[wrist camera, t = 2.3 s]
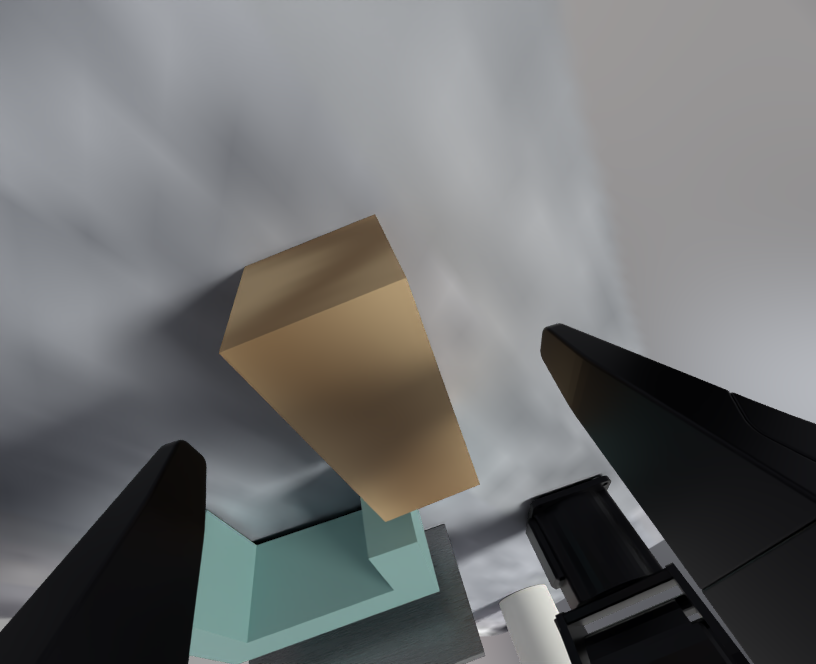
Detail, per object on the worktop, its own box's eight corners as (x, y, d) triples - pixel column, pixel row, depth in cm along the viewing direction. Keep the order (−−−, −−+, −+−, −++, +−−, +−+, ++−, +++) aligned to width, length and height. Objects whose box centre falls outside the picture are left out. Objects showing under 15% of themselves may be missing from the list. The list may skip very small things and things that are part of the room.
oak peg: (373, 211, 10) (405, 277, 7) (446, 405, 16) (479, 484, 13) (245, 263, 10) (218, 353, 7) (369, 436, 16) (385, 522, 13)
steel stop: (444, 524, 24) (484, 652, 19) (449, 542, 27) (485, 659, 22) (255, 589, 23) (241, 744, 18) (279, 602, 26) (273, 741, 20)
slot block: (395, 448, 16) (417, 541, 13) (419, 513, 21) (439, 591, 18) (163, 523, 15) (127, 643, 12) (247, 572, 21) (236, 664, 17)
